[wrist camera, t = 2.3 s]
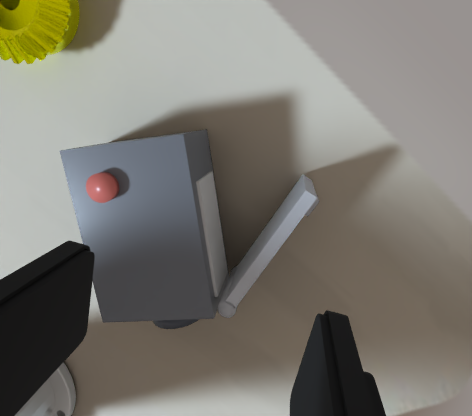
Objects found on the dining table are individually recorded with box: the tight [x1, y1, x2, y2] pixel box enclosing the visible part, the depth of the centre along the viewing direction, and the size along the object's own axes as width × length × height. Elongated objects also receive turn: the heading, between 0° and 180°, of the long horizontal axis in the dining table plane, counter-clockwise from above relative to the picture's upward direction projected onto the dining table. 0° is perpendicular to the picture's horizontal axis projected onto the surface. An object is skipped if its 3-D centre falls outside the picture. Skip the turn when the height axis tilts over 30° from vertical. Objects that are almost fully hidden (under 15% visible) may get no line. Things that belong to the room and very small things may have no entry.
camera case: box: [60, 129, 229, 329], centre depth 25 cm, size 13×8×7 cm, turn 8°
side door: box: [218, 174, 319, 318], centre depth 24 cm, size 10×2×6 cm, turn 148°
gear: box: [0, 0, 80, 64], centre depth 24 cm, size 8×4×8 cm
